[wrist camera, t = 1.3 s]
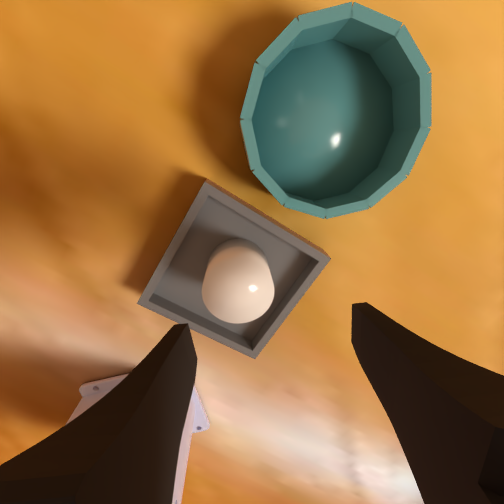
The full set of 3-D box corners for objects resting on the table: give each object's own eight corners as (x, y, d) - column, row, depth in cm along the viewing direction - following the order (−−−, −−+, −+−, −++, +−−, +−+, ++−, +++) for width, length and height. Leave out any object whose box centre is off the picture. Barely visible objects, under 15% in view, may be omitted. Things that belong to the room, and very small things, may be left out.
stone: (217, 298, 22) (213, 330, 18) (200, 246, 20) (192, 268, 16) (272, 285, 21) (280, 314, 18) (260, 232, 20) (266, 251, 16)
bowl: (260, 220, 20) (265, 233, 17) (223, 57, 17) (221, 35, 13) (400, 187, 20) (431, 194, 17) (393, 14, 16) (431, -19, 13)
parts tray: (253, 344, 24) (255, 359, 22) (144, 291, 22) (136, 303, 20) (323, 249, 21) (331, 258, 20) (207, 178, 19) (204, 181, 17)
